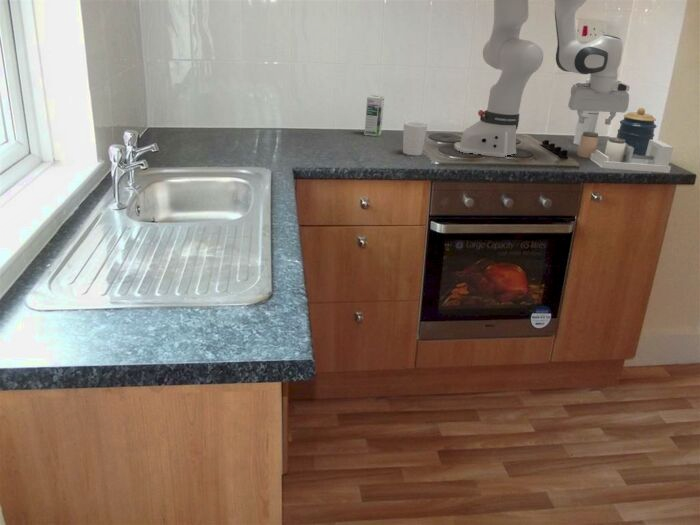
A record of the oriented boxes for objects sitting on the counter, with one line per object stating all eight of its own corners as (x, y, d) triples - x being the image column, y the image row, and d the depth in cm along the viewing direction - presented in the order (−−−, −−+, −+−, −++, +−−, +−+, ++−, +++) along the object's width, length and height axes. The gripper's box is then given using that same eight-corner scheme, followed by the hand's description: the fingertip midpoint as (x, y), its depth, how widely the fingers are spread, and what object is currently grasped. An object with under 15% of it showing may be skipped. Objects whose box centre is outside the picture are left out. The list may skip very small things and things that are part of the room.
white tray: (602, 169, 218) (608, 143, 214) (589, 160, 230) (595, 135, 226) (668, 174, 218) (676, 148, 214) (652, 165, 230) (659, 139, 226)
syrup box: (363, 135, 243) (366, 96, 237) (366, 132, 248) (370, 94, 242) (378, 136, 242) (382, 97, 236) (381, 133, 247) (384, 95, 241)
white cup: (426, 152, 223) (429, 123, 219) (420, 157, 216) (424, 127, 212) (404, 149, 225) (407, 121, 221) (398, 154, 218) (401, 124, 214)
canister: (607, 153, 244) (617, 106, 237) (620, 149, 253) (631, 103, 246) (641, 160, 236) (653, 112, 229) (653, 156, 245) (665, 109, 238)
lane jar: (605, 166, 221) (611, 140, 217) (599, 161, 226) (605, 136, 223) (623, 167, 221) (629, 141, 217) (616, 163, 226) (622, 137, 223)
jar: (579, 159, 231) (585, 134, 227) (574, 155, 237) (579, 130, 233) (596, 160, 231) (601, 135, 228) (590, 156, 237) (596, 132, 233)
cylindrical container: (592, 146, 253) (607, 81, 243) (574, 144, 254) (587, 80, 244) (590, 143, 260) (604, 79, 250) (572, 141, 261) (585, 78, 251)
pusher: (626, 167, 219) (631, 147, 216) (615, 160, 228) (620, 141, 225) (656, 170, 219) (662, 149, 216) (644, 162, 228) (649, 143, 225)
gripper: (575, 84, 221) (568, 124, 226) (634, 86, 221) (625, 126, 226) (569, 81, 226) (562, 120, 232) (627, 84, 226) (619, 123, 232)
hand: (594, 123), depth 229 cm, fingers open, 8 cm apart
